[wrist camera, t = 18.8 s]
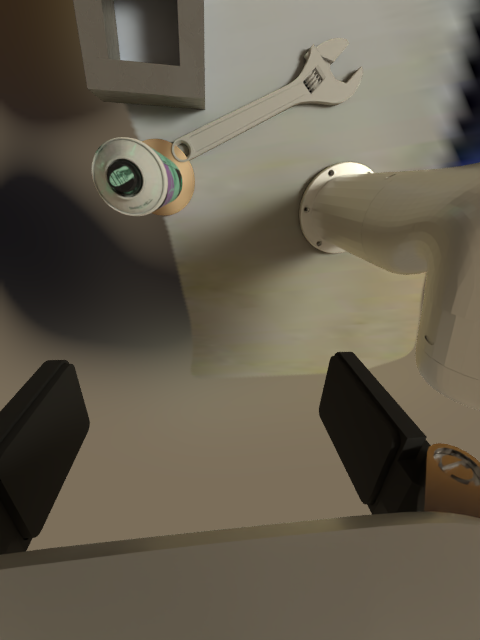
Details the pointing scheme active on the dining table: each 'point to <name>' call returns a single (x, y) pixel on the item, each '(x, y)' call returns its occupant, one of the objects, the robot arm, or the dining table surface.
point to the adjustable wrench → (279, 100)
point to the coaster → (186, 173)
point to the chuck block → (138, 77)
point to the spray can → (134, 177)
